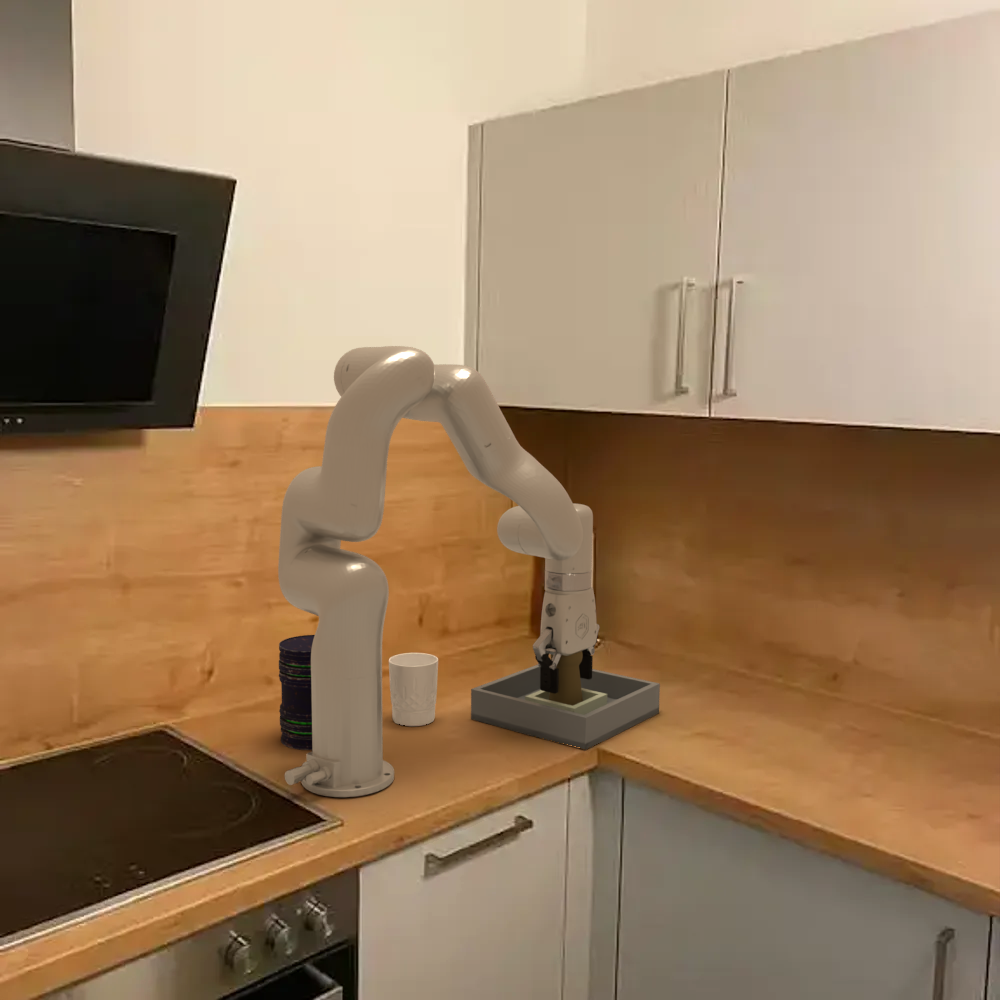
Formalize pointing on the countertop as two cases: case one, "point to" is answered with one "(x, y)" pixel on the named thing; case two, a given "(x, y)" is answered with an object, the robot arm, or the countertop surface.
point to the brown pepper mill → (568, 680)
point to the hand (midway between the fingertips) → (566, 684)
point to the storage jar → (296, 692)
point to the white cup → (413, 688)
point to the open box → (566, 707)
